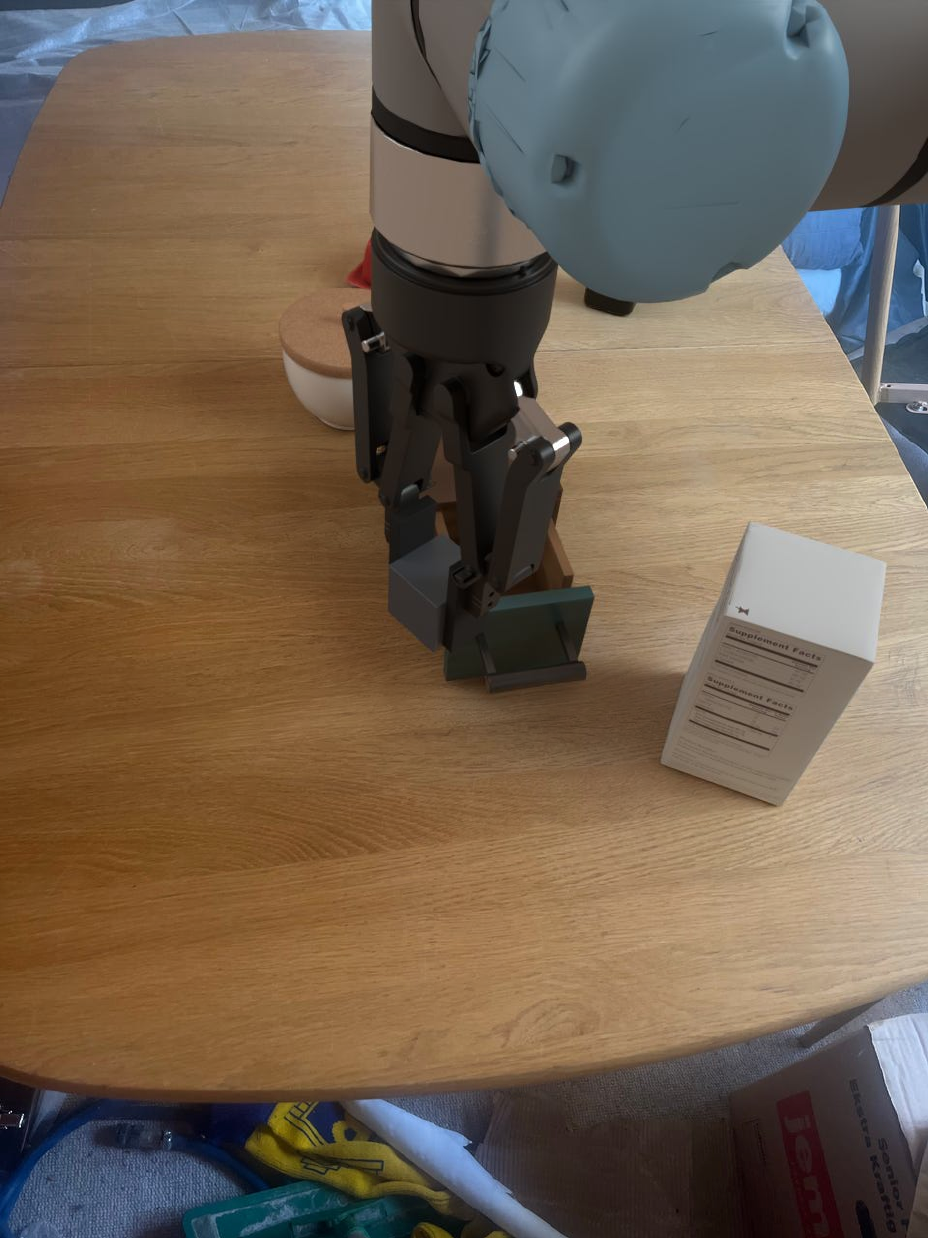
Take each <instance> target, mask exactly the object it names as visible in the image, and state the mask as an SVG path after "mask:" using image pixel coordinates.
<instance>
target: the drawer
mask: <svg viewBox="0 0 928 1238" xmlns="http://www.w3.org/2000/svg"><path fill="white" fill-rule="evenodd" d="M441 533H443V534H445V535H446V536H447V537H448V538H449V539H451V540H452V541H453V542H454V543H455V544H457V545H458V546H459V547H460V539H459V527H458V516H457V508H454V509H445V510H436V520H435V534H434V538H435V537H436V536H438V535H440V534H441ZM574 578H575V572H574V570H573V567H572V564H571V562H570V560H569V557H568V555H567V553H566V550H565V548H564V544H563V542H562V540H561V538H560V535H559V533H558V530H557V528H556V527H555V525H554V523H553V520H552V518H551V521H550V525H549V529H548V533H547V537H546V541H545V545H544V549H543V554H542V558H541V562H540V566H539V568H538V570H537V571H535V572H534V573H532V574H531V575H529V576H528V577H526V578H525V579H523V580H522V581H520V582H519V583H518V584H516V585H515V586H513V587H512V588H510V589H509V590H507V591H506V592H504V593H502V594H500V595H499V596H500V598H499V603H498V604H497V605H496V606H495V607H494V608H492V609H491V610H489V611H488V618H487V624H486V629H485V630H484V631H482V632H481V633H480V634H478V635H477V636H475V637H474V638H472V639H471V640H469V641H468V642H467V643H465V644H464V645H462V646H461V647H459V648H458V649H456V650H455V651H454V652H452V653H450V652H449V651H448V650H447V649H446V648H445V647H444V653H443V665H442V672H443V677H444V680H445V682H446V683H449V682H456V681H462V680H469V679H470V680H471V679H476V678H484V677H485V678H484V682H485V683H484V685H485V689H486V692H487V693H488V695H497V694H503V693H510V692H517V691H524V690H530V689H536V688H543V687H551V686H557V685H563V684H564V685H565V684H569V683H576V682H583V681H586V680H587V678H588V669H587V665H586V663H585V662H584V661H583V660H579V657H580V654H581V650H582V647H583V642H584V639H585V635H586V631H587V628H588V623H589V620H590V617H591V613H592V610H593V609H592V608H593V605H594V601H595V593H594V592H593V589H592V586H591V585H589V584H587V585H579V586H573V582H574Z"/></svg>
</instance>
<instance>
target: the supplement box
mask: <svg viewBox="0 0 928 1238" xmlns="http://www.w3.org/2000/svg"><path fill="white" fill-rule="evenodd" d="M887 566H888V563H887V562H886V561H884V560H881V559H878V558H875V557H872V556H869V555H867V554H863V553H860V552H856V551H852V550H849V549H846V548H843V547H838V546H835V545H832V544H828V543H826V542H822V541H818V540H816V539H812V538H809V537H805V536H802V535H799V534H796V533H793V532H789V531H787V530H783V529H780V528H776V527H772V526H769V525H766V524H763V523H759V522H756V521H752V520H750V521H749V522H748V523H747V525H746V527H745V529H744V532H743V534H742V537H741V539H740V542H739V544H738V546H737V549H736V551H735V554H734V556H733V559H732V561H731V565H730V566H729V569H728V572H727V575H726V577H725V580H724V583H723V585H722V586H723V587H722V589H721V591H720V593H719V594H720V595H719V596H718V599H717V601H716V603H715V604H714V606H713V609H712V611H711V613H710V614H709V615H710V616H709V618H708V620H707V623H706V624H705V627H704V629H703V632H702V634H701V637H700V640H699V642H698V644H697V647H696V649H695V652H694V654H693V656H692V658H691V661H690V663H689V666H688V668H687V671H686V672H685V674H684V676H683V680H682V683H681V686H680V689H679V694H678V697H677V701H676V704H675V708H674V710H673V714H672V717H671V721H670V724H669V728H668V731H667V735H666V739H665V743H664V746H663V750H662V754H661V757H660V764H661V765H664V766H666V767H669V768H671V769H675V770H677V771H680V772H682V773H686V774H688V775H691V776H694V777H696V778H700V779H702V780H704V781H707V782H711V783H714V784H716V785H719V786H721V787H724V788H728V789H730V790H733V791H735V792H739V793H741V794H744V795H746V796H749V797H753V798H756V799H757V800H761V801H764V802H766V803H769V804H772V805H774V806H777V807H782V806H784V804H785V803H786V801H787V799H788V798H789V796H790V795H791V794H792V792H793V790H794V789H795V787H796V786H797V784H798V783H799V781H800V780H801V778H802V777H803V775H804V774H805V772H806V770H807V769H808V767H809V766H810V764H811V762H812V761H813V759H814V758H815V756H816V755H817V753H818V752H819V751H820V748H821V747H822V746H823V744H824V742H825V741H826V739H827V738H828V736H829V735H830V734H831V732H832V730H833V729H834V727H835V726H836V725H837V723H838V721H839V720H840V718H841V717H842V715H843V714H844V712H845V710H846V709H847V707H848V706H849V704H850V703H851V701H852V699H854V697H855V695H856V693H857V692H858V690H859V689H860V687H861V686H862V684H863V683H864V681H866V678H867V676H869V674H870V672H871V671H872V669H873V667H874V666H875V664H876V657H877V649H878V641H879V640H878V639H879V631H880V621H881V614H882V613H881V612H882V605H883V599H884V590H885V583H886V582H885V581H886V574H887V573H886V572H887Z"/></svg>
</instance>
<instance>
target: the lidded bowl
mask: <svg viewBox="0 0 928 1238" xmlns="http://www.w3.org/2000/svg"><path fill="white" fill-rule="evenodd" d="M370 300H371V290H366V289H360V288H357V287H336V288H328V289H327V288H326V289H323V290H318V291H315V292H312V293H309V294H306V295H304V296H302V297H300V298H298V299H297V300H295V301H294V302H292V303H291V304H290V305H289V306H288V307H287V308H286V309H285V310H284V312H283V313H282V314H281V317H280V319H279V322H278V338H279V343H280V345H281V353H282V360H283V365H284V370H285V374H286V377H287V379H288V383H289V385H290V388H291V390H292V391H293V393H294V395H295V397H296V399H297V400H298V401H299V402H300V403H301V405H302V406H304V408H305V409H306V410H307V411H309V412H310V413H311V414H312V415H314V416H315V417H317V418H318V419H319V420H320V421H321V422H322V423H323V424H325V425H327V426H330V427H331V428H334V429H336V430H337V429H338V430H343V431H354V410H353V389H352V368H351V355H350V351H349V348H348V344H347V340H346V336H345V332H344V329H343V325H342V320H341V317H342V313H343V312H345V311H347V310H349V309H352V308H354V307H356V306H358V305H361V304H363V303H365V302H368V301H370Z"/></svg>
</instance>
